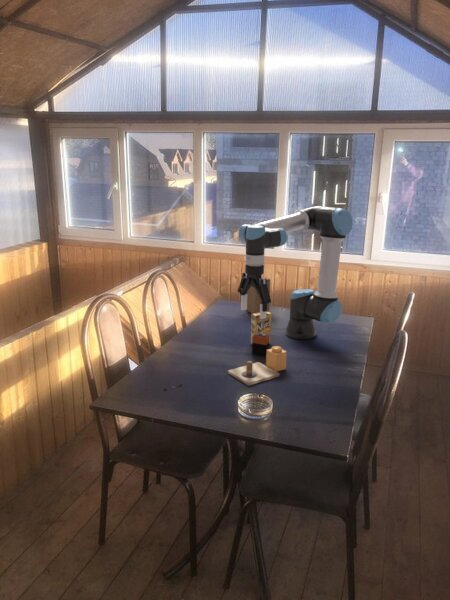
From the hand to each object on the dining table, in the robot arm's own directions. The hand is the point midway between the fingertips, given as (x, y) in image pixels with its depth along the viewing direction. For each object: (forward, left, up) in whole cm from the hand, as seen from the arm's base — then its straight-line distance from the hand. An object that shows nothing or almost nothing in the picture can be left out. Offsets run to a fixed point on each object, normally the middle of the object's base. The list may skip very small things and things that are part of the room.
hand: (253, 314), depth 207 cm
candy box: (-19, -19, -24) cm, 36 cm away
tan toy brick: (-7, +7, -24) cm, 26 cm away
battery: (-11, -9, -24) cm, 28 cm away
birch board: (+5, +7, -24) cm, 25 cm away
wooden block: (-48, -59, -24) cm, 80 cm away
